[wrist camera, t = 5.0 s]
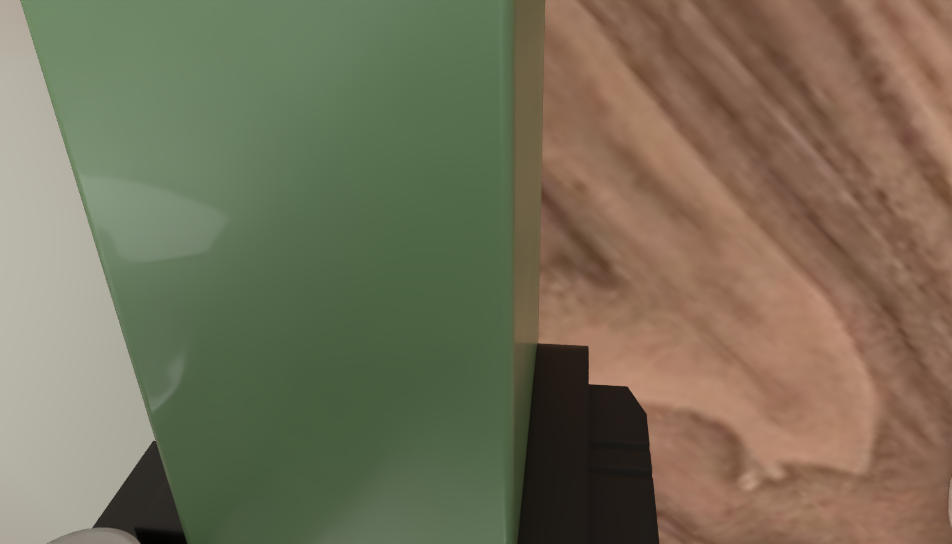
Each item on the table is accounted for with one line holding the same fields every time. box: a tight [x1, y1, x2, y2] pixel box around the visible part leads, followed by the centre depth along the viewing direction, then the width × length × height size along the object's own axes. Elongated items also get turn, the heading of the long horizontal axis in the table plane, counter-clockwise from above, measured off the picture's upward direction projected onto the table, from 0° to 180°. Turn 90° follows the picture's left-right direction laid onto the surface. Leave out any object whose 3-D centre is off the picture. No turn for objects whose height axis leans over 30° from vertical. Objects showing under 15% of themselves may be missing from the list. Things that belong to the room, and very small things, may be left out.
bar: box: [20, 0, 545, 544], centre depth 9 cm, size 14×3×4 cm, turn 1°
